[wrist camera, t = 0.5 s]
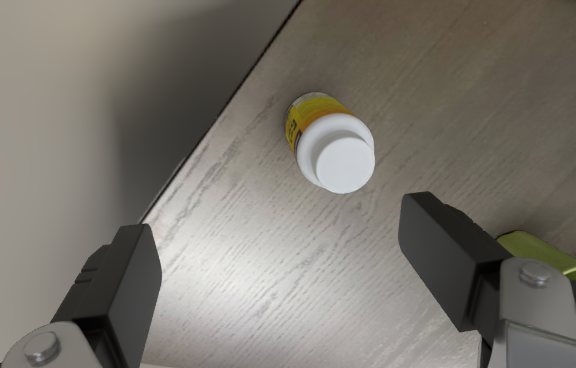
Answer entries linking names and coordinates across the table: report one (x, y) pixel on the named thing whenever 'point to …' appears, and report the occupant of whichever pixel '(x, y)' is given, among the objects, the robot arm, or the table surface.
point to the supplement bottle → (329, 143)
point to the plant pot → (538, 251)
